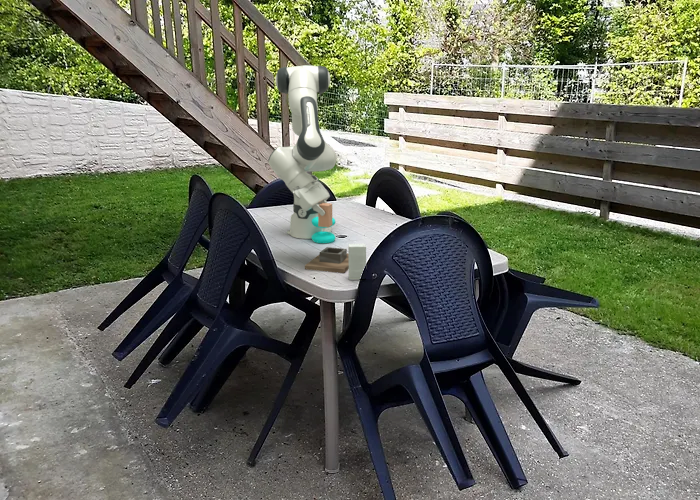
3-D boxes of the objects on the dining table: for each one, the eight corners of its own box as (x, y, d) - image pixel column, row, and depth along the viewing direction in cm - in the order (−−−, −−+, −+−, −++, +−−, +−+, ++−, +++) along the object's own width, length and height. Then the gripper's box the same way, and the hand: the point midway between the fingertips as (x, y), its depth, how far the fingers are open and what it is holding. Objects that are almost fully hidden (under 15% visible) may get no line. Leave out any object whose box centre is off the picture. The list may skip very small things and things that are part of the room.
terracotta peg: (322, 224, 237) (322, 202, 235) (332, 224, 236) (332, 203, 234) (318, 226, 233) (318, 204, 231) (328, 227, 232) (328, 205, 230)
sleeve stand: (323, 254, 250) (323, 242, 248) (360, 258, 246) (360, 245, 244) (304, 269, 231) (304, 256, 230) (344, 273, 227) (344, 259, 226)
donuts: (314, 215, 273) (337, 216, 271) (315, 237, 276) (337, 238, 274) (308, 220, 264) (332, 221, 262) (309, 243, 266) (332, 244, 265)
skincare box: (365, 276, 224) (365, 243, 221) (366, 280, 220) (366, 246, 217) (348, 276, 224) (348, 243, 220) (348, 280, 220) (348, 246, 216)
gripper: (296, 183, 222) (322, 213, 222) (317, 175, 241) (341, 202, 241) (284, 195, 225) (310, 224, 225) (306, 186, 244) (330, 213, 243)
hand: (327, 213), depth 233 cm, fingers closed on terracotta peg, 4 cm apart
